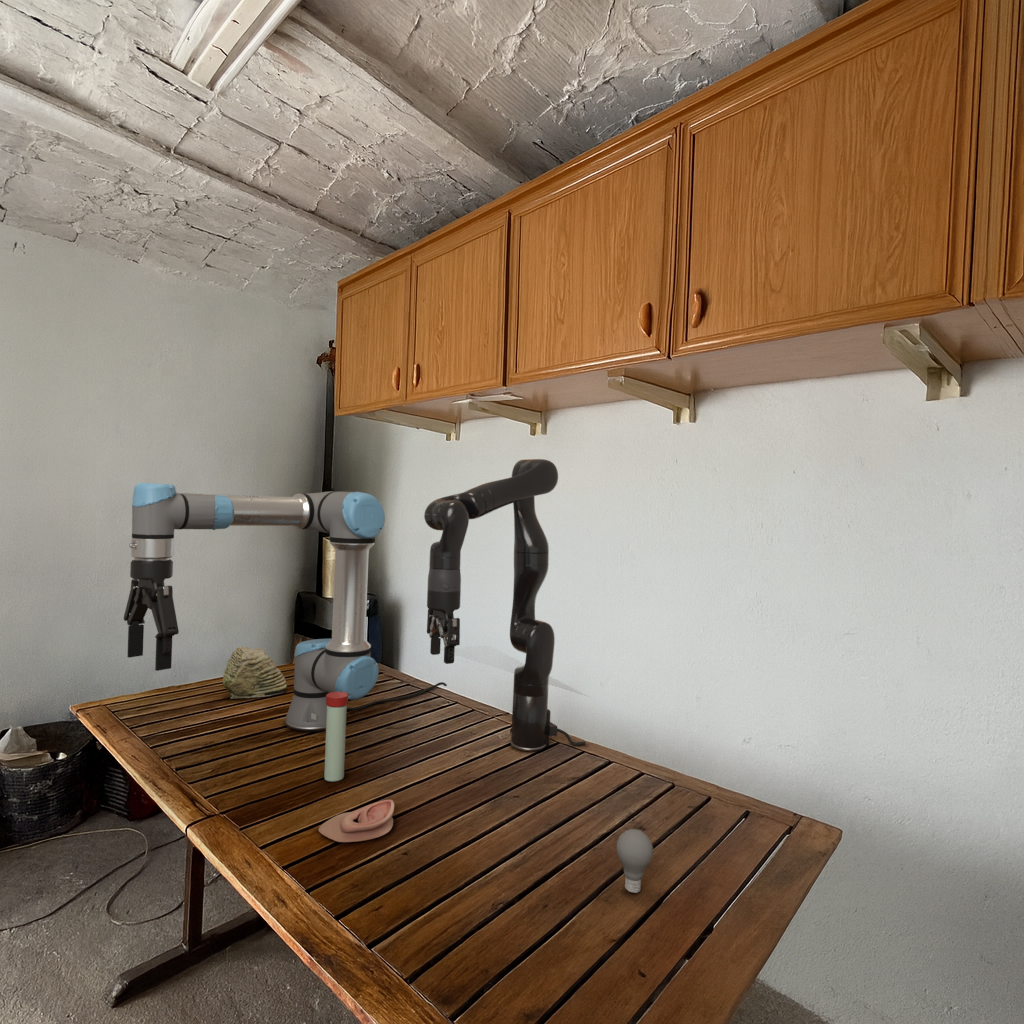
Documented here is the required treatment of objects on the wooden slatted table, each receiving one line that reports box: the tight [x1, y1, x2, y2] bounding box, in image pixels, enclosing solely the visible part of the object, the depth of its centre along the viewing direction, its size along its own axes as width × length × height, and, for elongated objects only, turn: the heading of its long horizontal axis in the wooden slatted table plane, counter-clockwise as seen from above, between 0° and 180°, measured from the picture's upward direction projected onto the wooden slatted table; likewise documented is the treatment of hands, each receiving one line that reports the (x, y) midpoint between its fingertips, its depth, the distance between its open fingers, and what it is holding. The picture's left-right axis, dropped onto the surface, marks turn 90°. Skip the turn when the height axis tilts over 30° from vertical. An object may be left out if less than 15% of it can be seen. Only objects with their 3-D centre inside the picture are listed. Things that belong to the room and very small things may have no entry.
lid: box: [326, 692, 349, 707], centre depth 143 cm, size 5×5×2 cm
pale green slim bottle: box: [323, 704, 348, 782], centre depth 143 cm, size 4×4×18 cm
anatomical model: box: [317, 799, 395, 843], centre depth 122 cm, size 13×4×12 cm
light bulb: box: [615, 828, 654, 894], centre depth 106 cm, size 6×6×10 cm
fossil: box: [222, 646, 288, 699], centre depth 198 cm, size 9×18×15 cm, turn 132°
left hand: (148, 662), depth 129 cm, fingers open, 13 cm apart
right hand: (441, 658), depth 144 cm, fingers open, 8 cm apart
